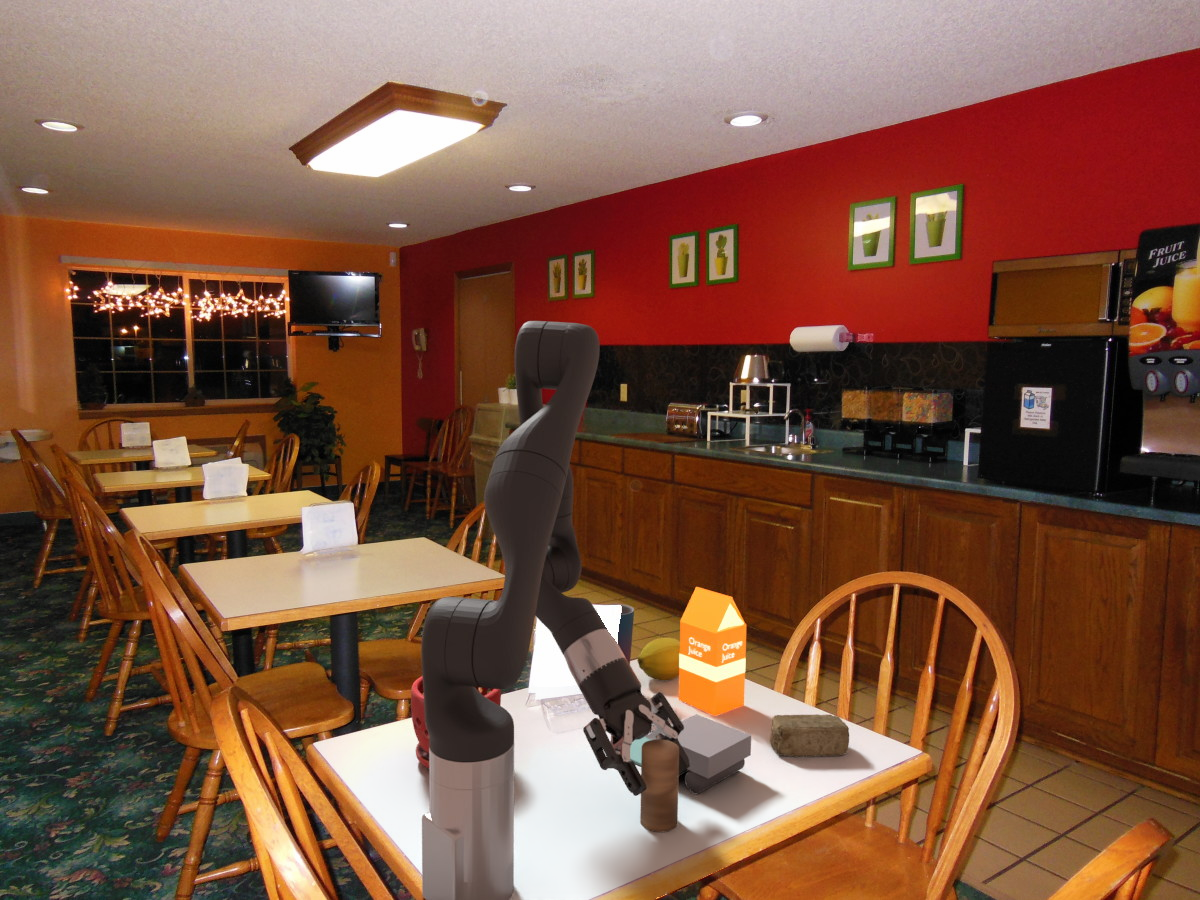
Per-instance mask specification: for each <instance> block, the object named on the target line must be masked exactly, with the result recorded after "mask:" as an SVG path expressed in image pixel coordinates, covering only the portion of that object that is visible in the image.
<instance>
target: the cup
mask: <svg viewBox="0 0 1200 900" xmlns="http://www.w3.org/2000/svg"><path fill="white" fill-rule="evenodd" d="M606 605H621V606H622V613H621V619H620V624H619V632H618V645H619V647H620V649H621V651H622V652H623V654H624V656H625V658H626V659H627V661H628V663H629V664H630V665H631V656H632V654H631V653H632V642H633V633H634V632H633V629H634V616H635V608H634V607H632V606H630V605H627V604H620V603H610V604H609V603H608V604H607V603H606Z"/></svg>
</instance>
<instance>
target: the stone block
mask: <svg viewBox="0 0 1200 900" xmlns="http://www.w3.org/2000/svg"><path fill="white" fill-rule="evenodd" d="M771 727H772V728H771V735H770V739H769V744H770V746H771V748H772V750H773V751H775V753H776V754H777V755H782V756H785V757H794V758H795V757H796V758H797V757H798V758H800V757H826V756H827V757H835V756H837V757H839V756H843V755H846V754H847V752H848V749H849V746H850V745H849V744H850V732H849V730H850V728H849V726H848V725H847V724H846V722H844V721H843V720H842V719H841V718H840V716H837V715H832V714H818V713H817V714H783V715H782V714H776V715H775V714H774V716H772V722H771Z"/></svg>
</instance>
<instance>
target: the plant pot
mask: <svg viewBox="0 0 1200 900" xmlns="http://www.w3.org/2000/svg"><path fill="white" fill-rule="evenodd" d="M475 688H476V689H477V690H478V691H479V687H475ZM481 689H482V691H479V692H480V693H481V694H482V695H483V696H485V697H486V698H487V699H489V700H491V701H492V702H494V703H496V704H498V705H500V706H501V703H502V702H501V701H502V689H490V688H481ZM489 690H490V692H488V691H489ZM410 708H411V709H410V711H411V720H412V725H413V729H414V730H413V731H414V734H415V737H416V738H417V742H418V743H417V744H416V747H415V757H416V759H417V760H418V762H420V764H421V765H422V766H424V767H425V768H427V769H429V734H428V731H427V727H426V723H425V710H424V690H423V676H422V675H421V676H420V677H418V678H417V679H416V680H415V681H414V682H413V684H412V685H411V689H410Z"/></svg>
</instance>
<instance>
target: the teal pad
mask: <svg viewBox="0 0 1200 900" xmlns="http://www.w3.org/2000/svg"><path fill="white" fill-rule="evenodd" d="M652 740H653V739H652ZM647 741H650V739H648V738H646V737H645V736H644V737H643V738H641V739H638V740H634V741H633V742H632V744H631V747H630V762H631V761H633V762H634V764H635V765H638V766H639V767H641V759H642V745H643V744H644V743H645V742H647ZM610 742H611V740H610Z"/></svg>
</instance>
